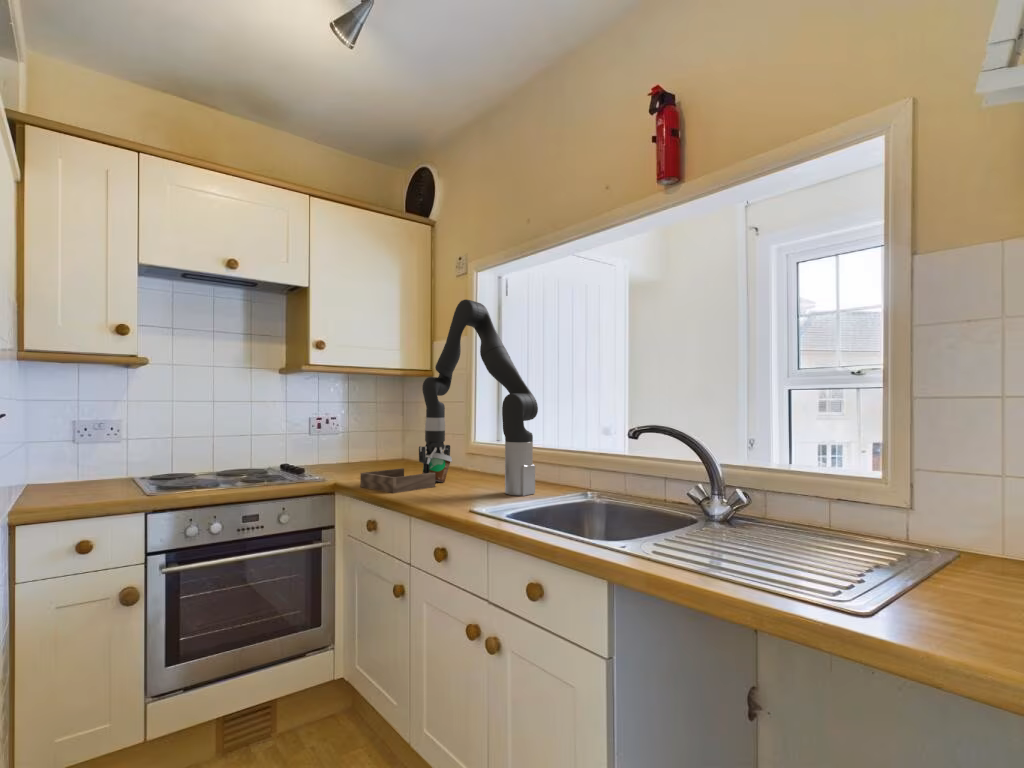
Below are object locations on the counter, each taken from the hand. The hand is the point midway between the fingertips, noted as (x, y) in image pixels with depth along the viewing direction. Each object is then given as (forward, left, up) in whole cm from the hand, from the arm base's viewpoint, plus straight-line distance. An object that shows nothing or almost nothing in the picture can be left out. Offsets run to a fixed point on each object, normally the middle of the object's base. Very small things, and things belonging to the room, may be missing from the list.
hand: (434, 472), depth 206 cm
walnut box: (0, +16, -3) cm, 17 cm away
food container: (-1, +3, -2) cm, 4 cm away
